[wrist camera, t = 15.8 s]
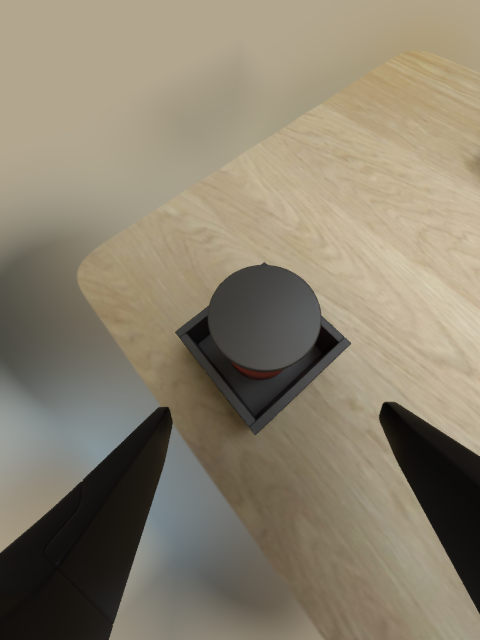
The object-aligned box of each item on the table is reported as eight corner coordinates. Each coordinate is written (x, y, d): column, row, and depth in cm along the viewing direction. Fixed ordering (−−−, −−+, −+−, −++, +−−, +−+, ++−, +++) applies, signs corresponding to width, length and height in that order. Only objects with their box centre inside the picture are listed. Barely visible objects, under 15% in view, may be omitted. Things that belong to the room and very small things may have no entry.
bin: (330, 354, 23) (351, 343, 18) (254, 426, 21) (255, 435, 16) (262, 287, 26) (264, 261, 21) (190, 344, 24) (174, 331, 19)
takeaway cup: (303, 334, 23) (339, 290, 13) (274, 395, 21) (292, 394, 12) (245, 306, 24) (240, 249, 15) (214, 361, 22) (185, 336, 13)
